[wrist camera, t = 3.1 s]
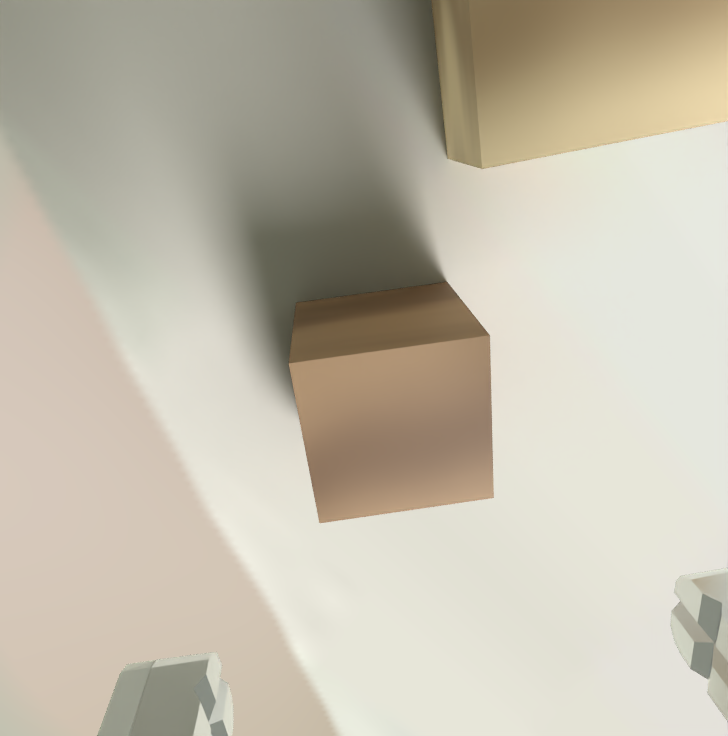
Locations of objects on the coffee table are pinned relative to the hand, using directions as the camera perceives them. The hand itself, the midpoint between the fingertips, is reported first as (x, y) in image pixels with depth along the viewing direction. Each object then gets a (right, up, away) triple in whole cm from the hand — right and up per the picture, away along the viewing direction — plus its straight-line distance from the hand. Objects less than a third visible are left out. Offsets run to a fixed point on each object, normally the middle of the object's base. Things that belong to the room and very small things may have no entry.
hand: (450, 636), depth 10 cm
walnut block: (-1, +5, +9) cm, 11 cm away
